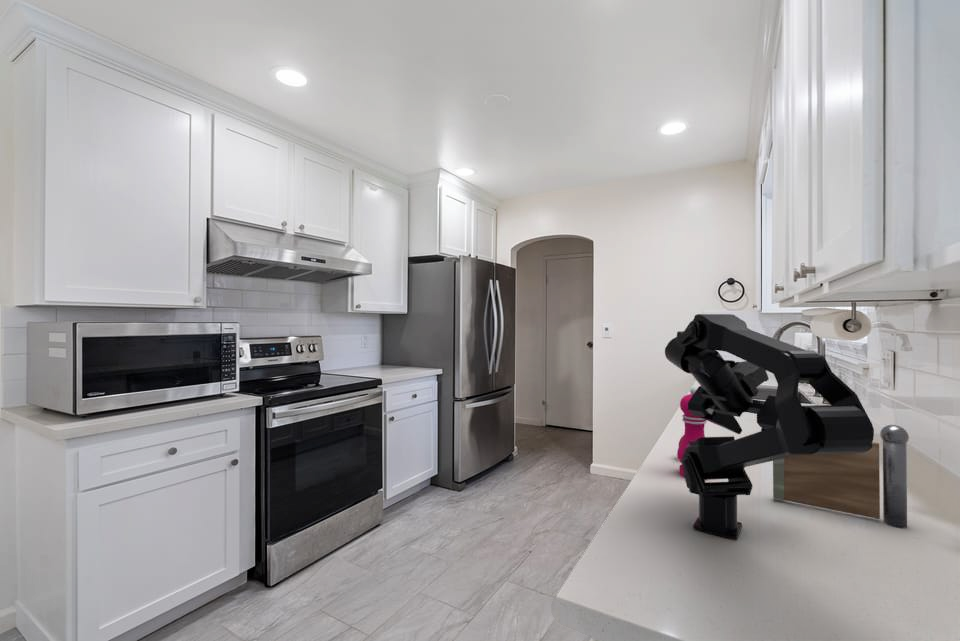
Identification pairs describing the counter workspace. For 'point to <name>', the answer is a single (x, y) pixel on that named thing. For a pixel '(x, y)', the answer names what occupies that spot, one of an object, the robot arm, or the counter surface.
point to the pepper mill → (689, 427)
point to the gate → (831, 481)
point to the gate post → (894, 475)
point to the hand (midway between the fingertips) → (761, 437)
